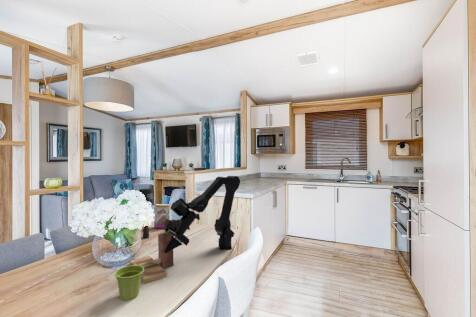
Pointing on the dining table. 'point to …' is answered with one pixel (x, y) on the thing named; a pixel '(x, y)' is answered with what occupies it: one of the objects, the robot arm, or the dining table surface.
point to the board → (149, 270)
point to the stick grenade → (149, 197)
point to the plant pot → (129, 281)
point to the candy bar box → (162, 214)
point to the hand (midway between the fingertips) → (163, 250)
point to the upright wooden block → (162, 252)
